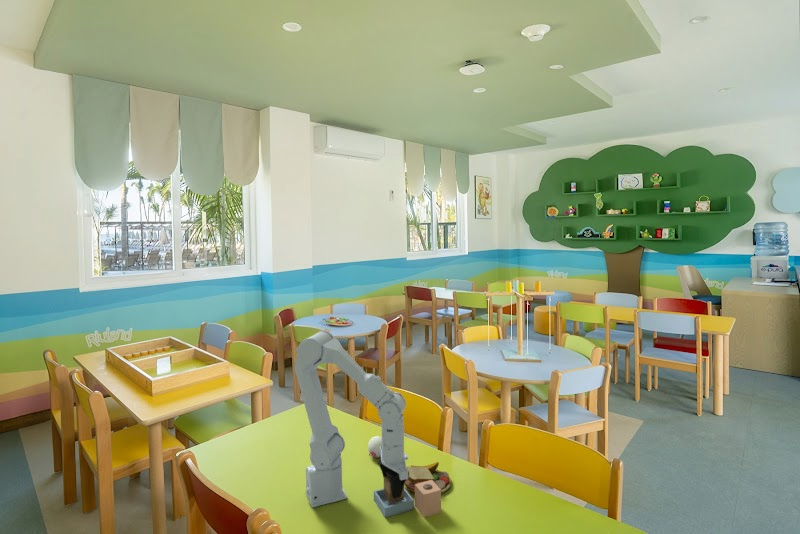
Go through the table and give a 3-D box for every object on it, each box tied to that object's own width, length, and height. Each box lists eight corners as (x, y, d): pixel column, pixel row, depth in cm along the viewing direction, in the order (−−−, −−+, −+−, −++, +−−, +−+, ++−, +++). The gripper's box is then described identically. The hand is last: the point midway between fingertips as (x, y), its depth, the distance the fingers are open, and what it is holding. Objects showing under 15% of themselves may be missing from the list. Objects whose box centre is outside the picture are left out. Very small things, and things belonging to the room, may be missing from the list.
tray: (384, 517, 112) (384, 508, 112) (373, 499, 120) (373, 491, 120) (414, 509, 116) (413, 500, 115) (401, 492, 123) (401, 483, 123)
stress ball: (382, 471, 140) (394, 455, 139) (361, 457, 139) (373, 440, 139) (384, 457, 147) (396, 442, 146) (364, 444, 147) (375, 428, 146)
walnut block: (389, 503, 115) (389, 484, 115) (383, 495, 119) (383, 476, 118) (404, 499, 117) (403, 481, 116) (397, 491, 120) (397, 473, 120)
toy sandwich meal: (455, 496, 122) (455, 479, 121) (405, 500, 120) (405, 483, 120) (445, 471, 134) (445, 456, 133) (400, 474, 132) (400, 459, 132)
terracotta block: (423, 517, 113) (423, 494, 112) (414, 506, 117) (414, 484, 117) (441, 512, 115) (441, 489, 114) (431, 501, 119) (431, 479, 119)
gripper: (419, 451, 111) (419, 503, 112) (396, 427, 124) (396, 474, 126) (392, 457, 108) (393, 511, 110) (371, 432, 122) (372, 480, 123)
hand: (393, 492), depth 117 cm, fingers closed on walnut block, 4 cm apart
